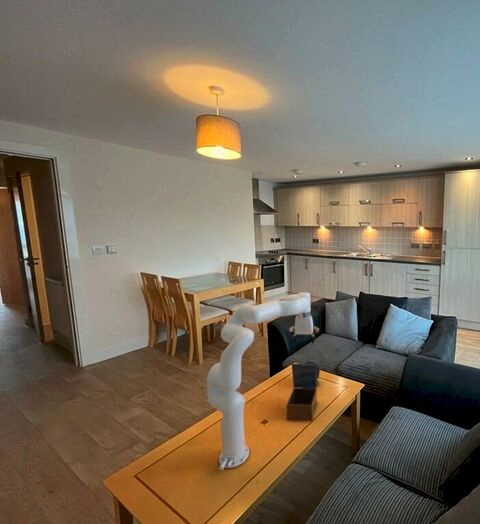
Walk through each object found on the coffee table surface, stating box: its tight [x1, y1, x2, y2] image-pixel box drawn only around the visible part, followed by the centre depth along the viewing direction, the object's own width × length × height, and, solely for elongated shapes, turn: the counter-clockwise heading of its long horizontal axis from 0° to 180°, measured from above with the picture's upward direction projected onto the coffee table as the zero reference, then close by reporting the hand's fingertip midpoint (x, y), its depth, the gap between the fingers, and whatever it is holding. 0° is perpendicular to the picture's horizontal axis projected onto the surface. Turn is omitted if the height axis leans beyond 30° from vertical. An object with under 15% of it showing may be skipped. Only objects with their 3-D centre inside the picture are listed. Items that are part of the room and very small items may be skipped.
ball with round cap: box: [303, 361, 321, 389], centre depth 185 cm, size 13×13×15 cm
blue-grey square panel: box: [291, 363, 318, 389], centre depth 164 cm, size 16×14×1 cm
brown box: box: [286, 387, 318, 422], centre depth 160 cm, size 16×14×9 cm
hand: (304, 342), depth 165 cm, fingers open, 9 cm apart
